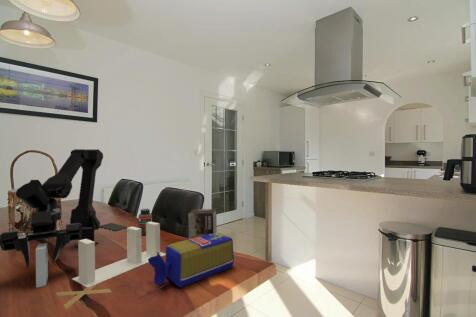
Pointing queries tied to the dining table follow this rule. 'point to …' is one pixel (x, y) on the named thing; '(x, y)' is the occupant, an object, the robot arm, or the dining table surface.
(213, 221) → the coffee box
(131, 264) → the row mat
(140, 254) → the domino
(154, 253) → the domino
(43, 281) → the domino
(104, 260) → the dining table surface
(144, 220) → the supplement bottle
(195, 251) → the bread
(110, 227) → the smartphone
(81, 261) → the domino
